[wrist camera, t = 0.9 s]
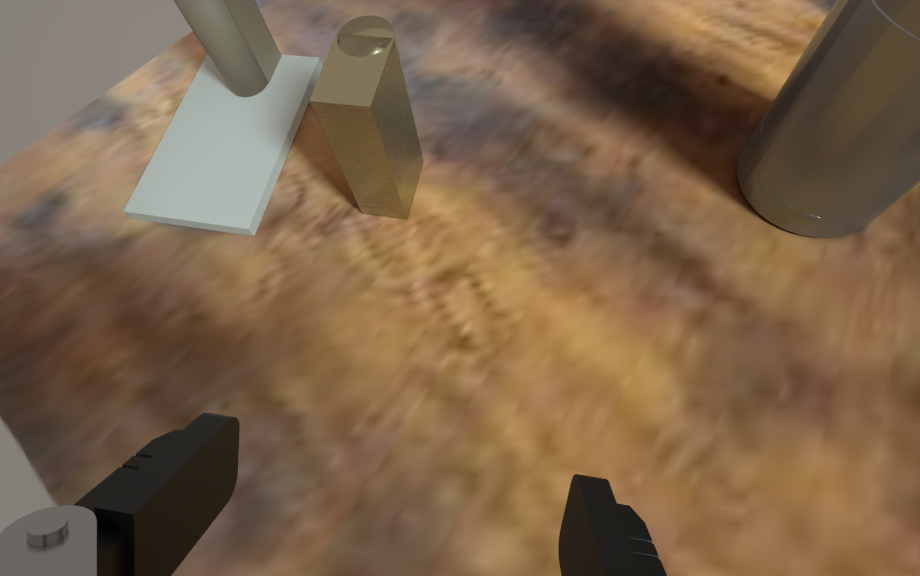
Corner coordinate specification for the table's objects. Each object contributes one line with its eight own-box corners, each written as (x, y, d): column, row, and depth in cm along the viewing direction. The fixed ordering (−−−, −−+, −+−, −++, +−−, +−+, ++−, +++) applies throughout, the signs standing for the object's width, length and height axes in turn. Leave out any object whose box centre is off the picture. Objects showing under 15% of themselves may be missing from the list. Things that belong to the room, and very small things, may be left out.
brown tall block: (407, 219, 37) (370, 106, 27) (362, 213, 37) (308, 100, 27) (428, 145, 39) (401, 17, 30) (385, 141, 40) (344, 13, 30)
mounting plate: (254, 236, 37) (173, 144, 28) (132, 218, 39) (18, 126, 30) (323, 67, 44) (274, -52, 35) (215, 58, 45) (142, -59, 36)
